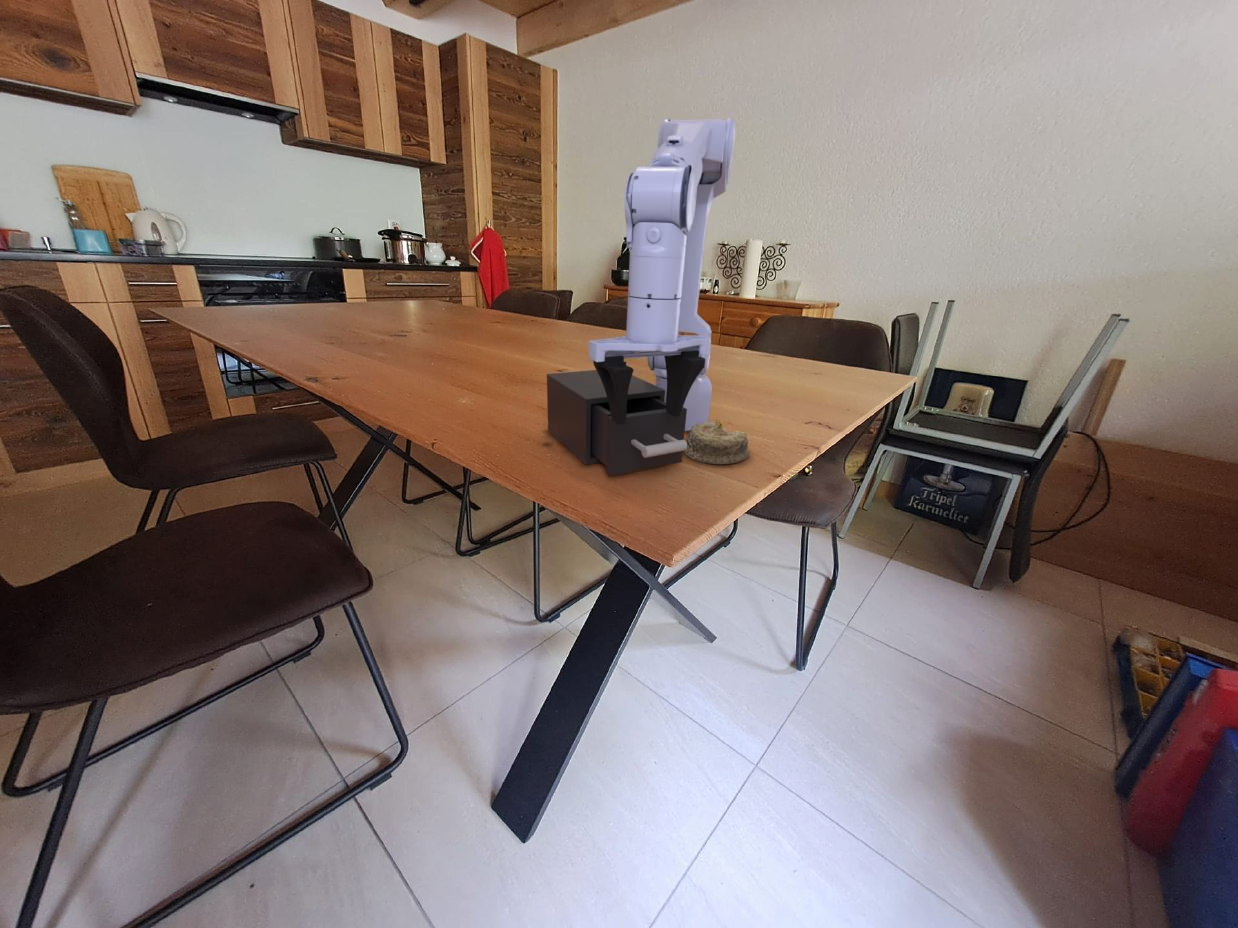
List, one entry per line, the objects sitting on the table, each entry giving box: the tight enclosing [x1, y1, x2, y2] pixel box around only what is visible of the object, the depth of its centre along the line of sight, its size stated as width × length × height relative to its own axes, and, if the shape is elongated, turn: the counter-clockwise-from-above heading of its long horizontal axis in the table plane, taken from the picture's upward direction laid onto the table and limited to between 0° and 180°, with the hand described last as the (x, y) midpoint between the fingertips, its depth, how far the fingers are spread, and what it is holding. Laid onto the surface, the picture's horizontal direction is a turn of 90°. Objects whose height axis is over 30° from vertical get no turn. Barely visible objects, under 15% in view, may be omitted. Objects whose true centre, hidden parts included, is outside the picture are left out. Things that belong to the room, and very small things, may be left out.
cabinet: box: [546, 369, 665, 466], centre depth 73 cm, size 15×13×10 cm
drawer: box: [590, 397, 687, 477], centre depth 66 cm, size 18×11×8 cm, turn 29°
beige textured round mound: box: [683, 419, 750, 465], centre depth 71 cm, size 10×10×5 cm
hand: (646, 417), depth 56 cm, fingers open, 7 cm apart
